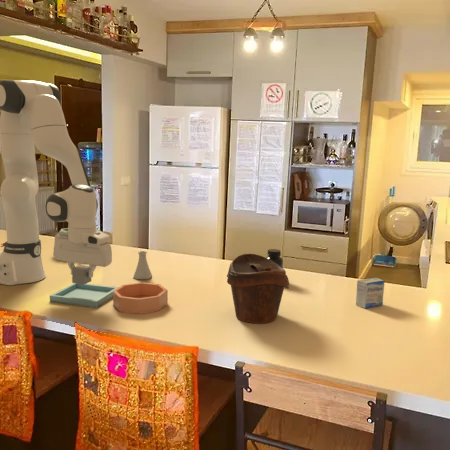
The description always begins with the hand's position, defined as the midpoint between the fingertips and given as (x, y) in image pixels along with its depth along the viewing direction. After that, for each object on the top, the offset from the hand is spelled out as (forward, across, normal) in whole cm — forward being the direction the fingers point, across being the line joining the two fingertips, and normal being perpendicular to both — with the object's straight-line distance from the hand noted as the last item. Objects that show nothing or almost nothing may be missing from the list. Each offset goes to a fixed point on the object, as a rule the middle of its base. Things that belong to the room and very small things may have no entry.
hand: (82, 275), depth 164 cm
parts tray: (+7, +1, +1) cm, 8 cm away
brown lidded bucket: (+6, +59, +4) cm, 59 cm away
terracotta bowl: (+7, +21, +1) cm, 22 cm away
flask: (+7, +8, +28) cm, 30 cm away
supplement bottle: (+5, +56, +41) cm, 70 cm away
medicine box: (+4, +91, +27) cm, 95 cm away
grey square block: (+2, 0, 0) cm, 2 cm away
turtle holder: (+8, -34, +45) cm, 57 cm away
